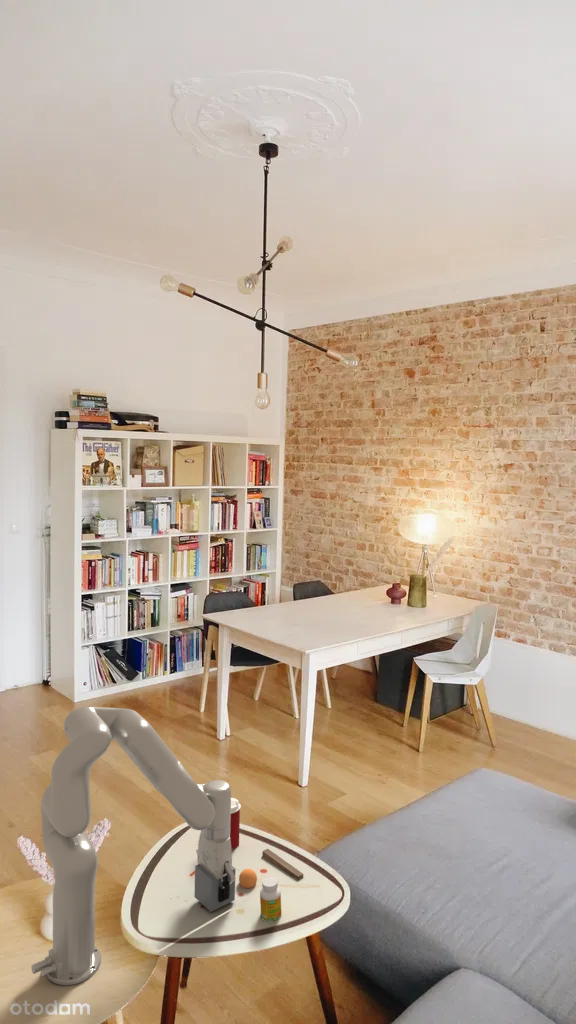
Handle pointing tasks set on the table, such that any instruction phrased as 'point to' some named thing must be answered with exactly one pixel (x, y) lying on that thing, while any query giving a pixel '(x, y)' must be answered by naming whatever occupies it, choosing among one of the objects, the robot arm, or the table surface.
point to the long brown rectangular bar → (282, 864)
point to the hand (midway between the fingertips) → (214, 891)
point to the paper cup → (234, 823)
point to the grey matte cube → (210, 889)
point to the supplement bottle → (270, 900)
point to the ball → (248, 878)
